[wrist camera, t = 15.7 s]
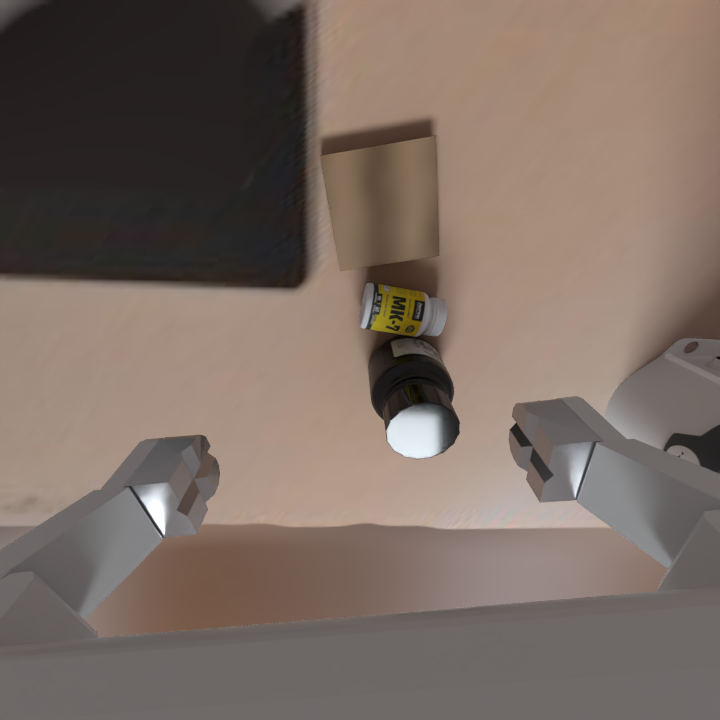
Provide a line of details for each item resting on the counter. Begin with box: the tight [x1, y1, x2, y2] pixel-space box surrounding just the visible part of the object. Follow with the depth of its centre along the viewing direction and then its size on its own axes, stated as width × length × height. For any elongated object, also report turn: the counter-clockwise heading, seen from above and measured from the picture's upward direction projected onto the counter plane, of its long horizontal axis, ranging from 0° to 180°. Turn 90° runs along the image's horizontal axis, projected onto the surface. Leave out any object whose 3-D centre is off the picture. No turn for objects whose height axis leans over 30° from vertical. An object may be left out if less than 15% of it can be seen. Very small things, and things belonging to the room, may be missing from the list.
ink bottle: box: [369, 336, 460, 459], centre depth 35 cm, size 10×9×12 cm
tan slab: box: [320, 136, 439, 271], centre depth 31 cm, size 10×10×2 cm
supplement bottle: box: [360, 283, 447, 336], centre depth 34 cm, size 5×5×8 cm
